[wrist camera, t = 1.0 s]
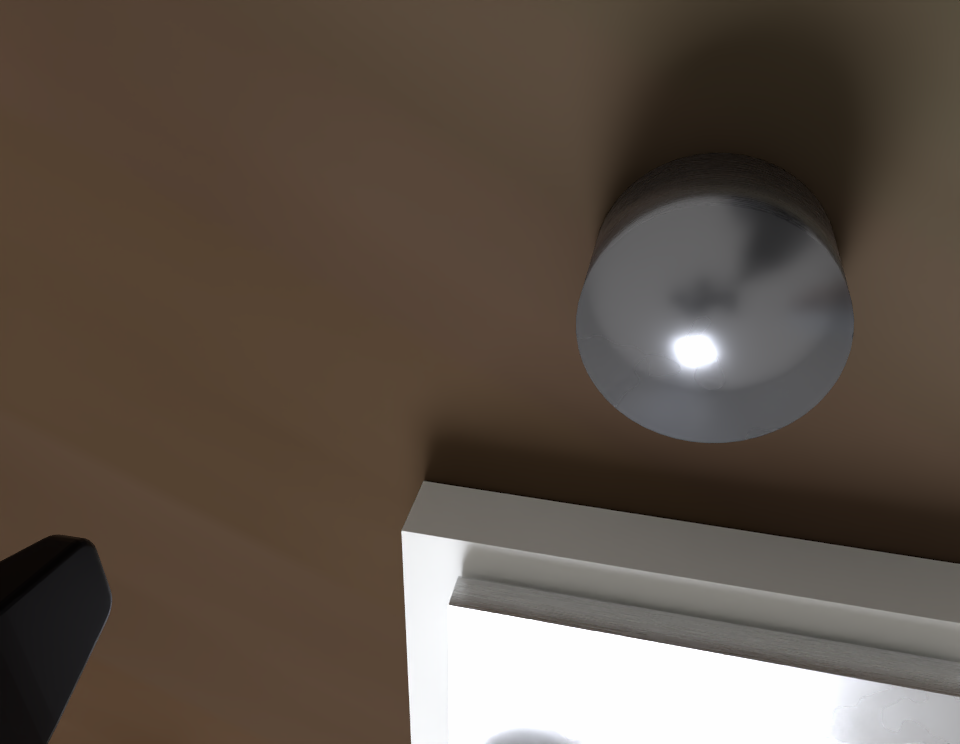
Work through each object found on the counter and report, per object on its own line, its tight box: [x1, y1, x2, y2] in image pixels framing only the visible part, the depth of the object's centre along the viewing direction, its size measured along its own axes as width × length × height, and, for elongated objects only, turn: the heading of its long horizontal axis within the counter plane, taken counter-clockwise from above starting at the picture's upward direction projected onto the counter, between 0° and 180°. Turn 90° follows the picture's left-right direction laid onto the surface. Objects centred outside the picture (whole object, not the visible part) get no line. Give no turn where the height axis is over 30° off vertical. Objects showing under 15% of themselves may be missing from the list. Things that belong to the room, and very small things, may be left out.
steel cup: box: [576, 153, 854, 443], centre depth 18 cm, size 5×5×3 cm
